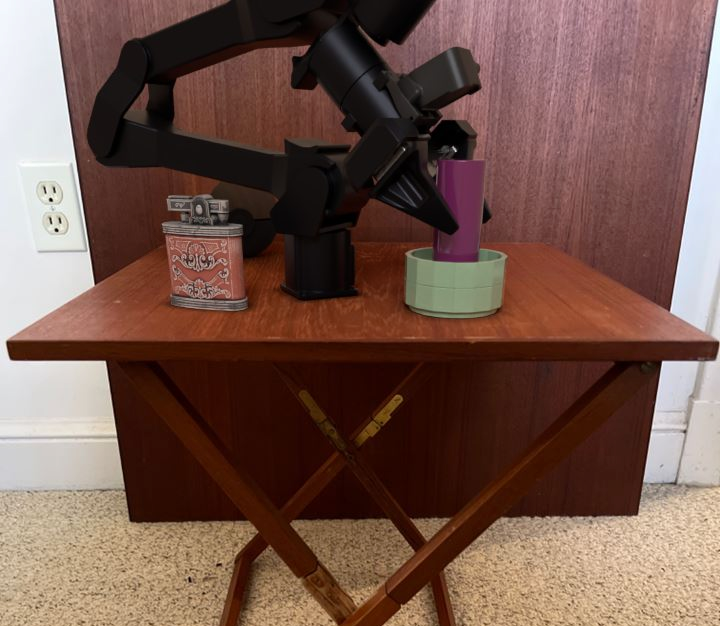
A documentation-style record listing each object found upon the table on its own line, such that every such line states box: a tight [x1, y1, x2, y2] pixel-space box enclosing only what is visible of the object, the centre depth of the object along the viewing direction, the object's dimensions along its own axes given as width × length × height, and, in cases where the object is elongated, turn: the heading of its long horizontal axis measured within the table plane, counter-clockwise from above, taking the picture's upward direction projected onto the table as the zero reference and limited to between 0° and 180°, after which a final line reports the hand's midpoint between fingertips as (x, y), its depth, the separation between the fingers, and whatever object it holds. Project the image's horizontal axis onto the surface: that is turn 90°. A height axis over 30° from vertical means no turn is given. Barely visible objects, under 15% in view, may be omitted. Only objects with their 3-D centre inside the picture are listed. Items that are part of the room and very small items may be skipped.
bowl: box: [403, 246, 509, 319], centre depth 67 cm, size 9×9×5 cm
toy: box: [209, 181, 277, 258], centre depth 92 cm, size 9×10×10 cm
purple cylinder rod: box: [432, 158, 488, 262], centre depth 65 cm, size 4×4×12 cm
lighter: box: [161, 193, 249, 312], centre depth 66 cm, size 8×3×10 cm, turn 71°
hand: (472, 225), depth 64 cm, fingers open, 9 cm apart
